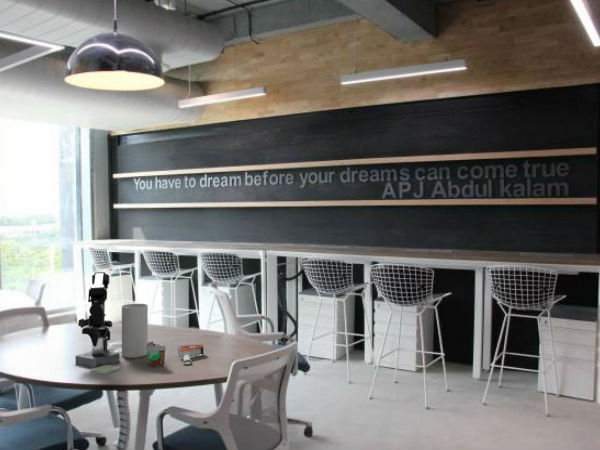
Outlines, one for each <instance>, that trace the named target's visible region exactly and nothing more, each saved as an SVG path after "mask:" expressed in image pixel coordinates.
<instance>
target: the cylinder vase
mask: <svg viewBox="0 0 600 450" xmlns="http://www.w3.org/2000/svg"><path fill="white" fill-rule="evenodd" d="M148 307H149V306H148V304H145V303H128V304H123V305H121V356H122V357H124V358H127V359H128V358H129V359H136V358H137V359H139V358H142V357H145V356H148V355H147V349H146V345H147V343H148V342H149V339H148V336H149V335H148V331H149V330H148V327H149V326H148V323H149V321H148V320H149V319H148V318H149V315H148V311H149V309H148Z"/></svg>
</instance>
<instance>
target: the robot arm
mask: <svg viewBox="0 0 600 450" xmlns="http://www.w3.org/2000/svg"><path fill="white" fill-rule="evenodd" d="M110 280H111V279H110V275H109V274H107V273H106V272H105V271H95V272H94V274H92V276H91V283H92V284H91V285H90V288H89V289H88V297H87V298H88V301H87V302H88V303H90V304H91V305H90V307H89V316H88V318H86V319H85V318H80V319H78V323H77V324H78V326H79V327H80V329H81V334H82V335H88V336H89V338H90V340H91V344H92V343H93V346H94V347H96V345H97V342H98V338H99V337H103V350H106V351H110V350H109V349H108V341H111V331H110V328H112V327H113V322H112V321H111V320H105V317H106V313H105V311H106V310H105V308H106V306H105V304H106V303H105V302H106V301H107V300H108V289H109V285H110Z"/></svg>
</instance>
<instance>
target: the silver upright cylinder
mask: <svg viewBox="0 0 600 450" xmlns="http://www.w3.org/2000/svg"><path fill="white" fill-rule="evenodd" d="M91 344H92V345H91V351H92V356H101V355H103V337H99V338H98V342H97V345H96V347H94V346H93V343H92V342H91Z"/></svg>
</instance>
